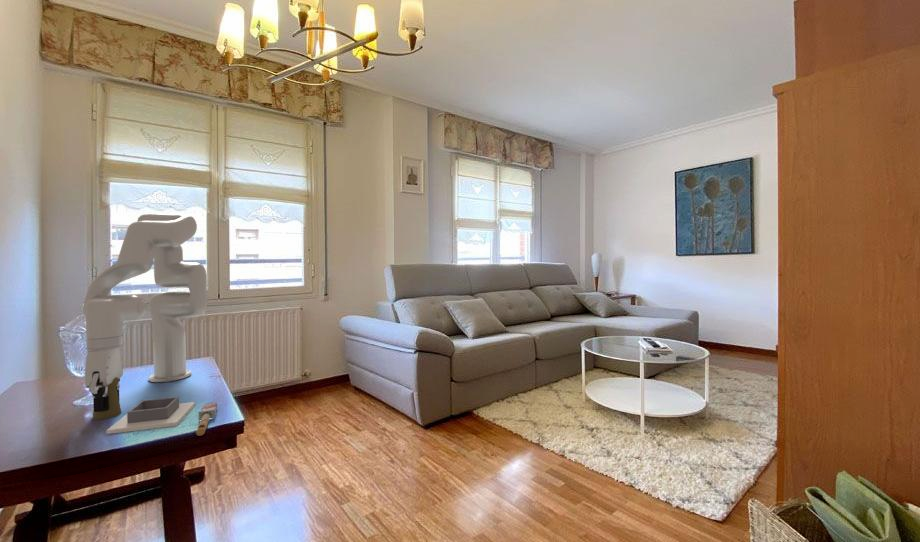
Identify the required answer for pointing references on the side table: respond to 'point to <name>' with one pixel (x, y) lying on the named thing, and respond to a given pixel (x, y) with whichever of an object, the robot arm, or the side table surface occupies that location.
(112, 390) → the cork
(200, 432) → the paintbrush
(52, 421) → the side table surface
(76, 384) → the side table surface
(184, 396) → the side table surface
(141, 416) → the beige square socket base
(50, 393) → the side table surface
